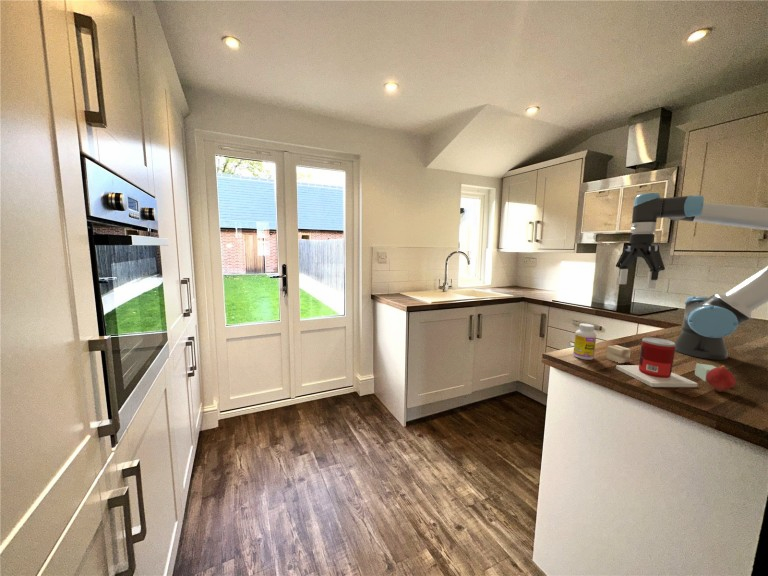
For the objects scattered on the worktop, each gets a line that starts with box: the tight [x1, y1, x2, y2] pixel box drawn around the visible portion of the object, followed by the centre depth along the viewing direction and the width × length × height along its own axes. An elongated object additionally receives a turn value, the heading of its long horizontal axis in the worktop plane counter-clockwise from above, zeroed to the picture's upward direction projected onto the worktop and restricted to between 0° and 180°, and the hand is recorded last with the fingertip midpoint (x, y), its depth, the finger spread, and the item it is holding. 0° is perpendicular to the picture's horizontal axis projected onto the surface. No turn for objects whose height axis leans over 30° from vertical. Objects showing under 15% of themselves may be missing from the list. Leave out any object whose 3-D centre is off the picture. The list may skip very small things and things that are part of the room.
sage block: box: [694, 363, 717, 383], centre depth 96 cm, size 4×6×4 cm, turn 156°
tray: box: [615, 364, 699, 388], centre depth 97 cm, size 14×14×1 cm
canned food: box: [638, 336, 676, 378], centre depth 97 cm, size 8×8×11 cm
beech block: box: [605, 344, 632, 364], centre depth 112 cm, size 5×5×5 cm
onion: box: [706, 365, 737, 392], centre depth 88 cm, size 6×6×8 cm
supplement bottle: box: [572, 323, 597, 361], centre depth 114 cm, size 7×7×13 cm
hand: (635, 286), depth 122 cm, fingers open, 13 cm apart
